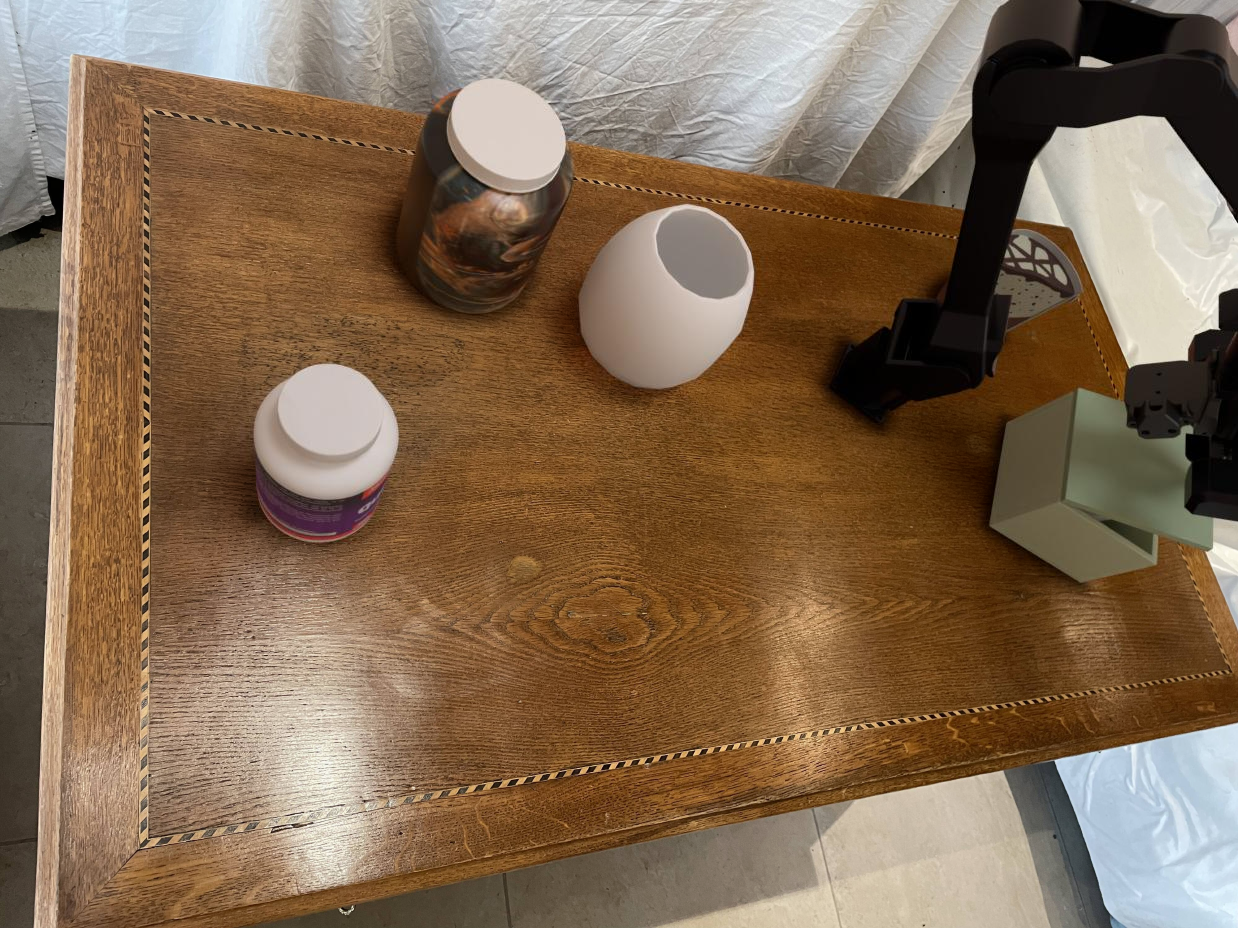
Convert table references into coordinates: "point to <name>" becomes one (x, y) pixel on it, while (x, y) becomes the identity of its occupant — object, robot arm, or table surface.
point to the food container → (1035, 277)
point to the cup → (666, 296)
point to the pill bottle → (323, 452)
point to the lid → (1129, 473)
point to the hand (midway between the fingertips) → (1200, 477)
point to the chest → (1058, 503)
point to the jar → (483, 195)
